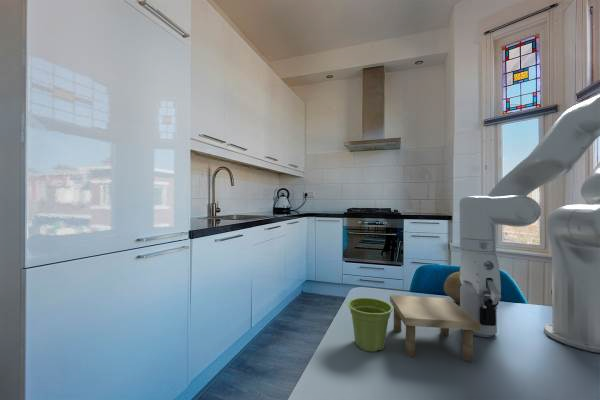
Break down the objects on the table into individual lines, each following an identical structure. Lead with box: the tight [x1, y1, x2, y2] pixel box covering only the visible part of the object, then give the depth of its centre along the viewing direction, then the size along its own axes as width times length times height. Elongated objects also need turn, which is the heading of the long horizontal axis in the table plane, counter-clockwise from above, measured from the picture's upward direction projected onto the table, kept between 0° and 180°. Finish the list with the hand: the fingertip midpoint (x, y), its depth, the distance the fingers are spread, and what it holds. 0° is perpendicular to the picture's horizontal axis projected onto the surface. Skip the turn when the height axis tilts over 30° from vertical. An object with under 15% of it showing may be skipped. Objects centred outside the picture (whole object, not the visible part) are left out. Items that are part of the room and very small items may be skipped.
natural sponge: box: [443, 271, 461, 304], centre depth 85 cm, size 9×9×10 cm
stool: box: [389, 294, 480, 363], centre depth 59 cm, size 14×14×8 cm
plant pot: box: [347, 297, 394, 353], centre depth 58 cm, size 9×9×9 cm
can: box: [459, 281, 498, 338], centre depth 66 cm, size 8×8×12 cm
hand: (477, 317), depth 66 cm, fingers closed on can, 7 cm apart
